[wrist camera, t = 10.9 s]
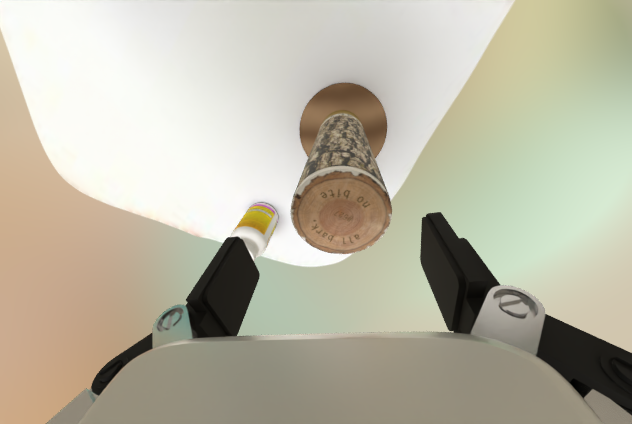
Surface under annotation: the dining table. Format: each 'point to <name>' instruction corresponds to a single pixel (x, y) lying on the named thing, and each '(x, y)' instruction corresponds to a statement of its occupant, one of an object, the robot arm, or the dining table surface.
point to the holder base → (349, 100)
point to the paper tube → (341, 190)
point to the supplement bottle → (257, 228)
